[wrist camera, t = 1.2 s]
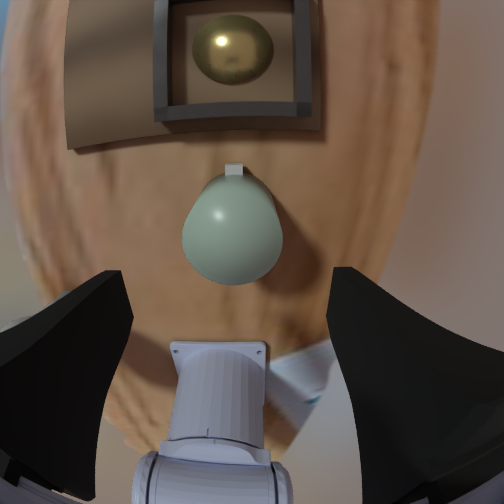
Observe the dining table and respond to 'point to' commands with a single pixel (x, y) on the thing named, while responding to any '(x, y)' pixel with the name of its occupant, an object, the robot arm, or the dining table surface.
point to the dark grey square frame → (230, 63)
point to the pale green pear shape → (233, 229)
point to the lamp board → (183, 69)
